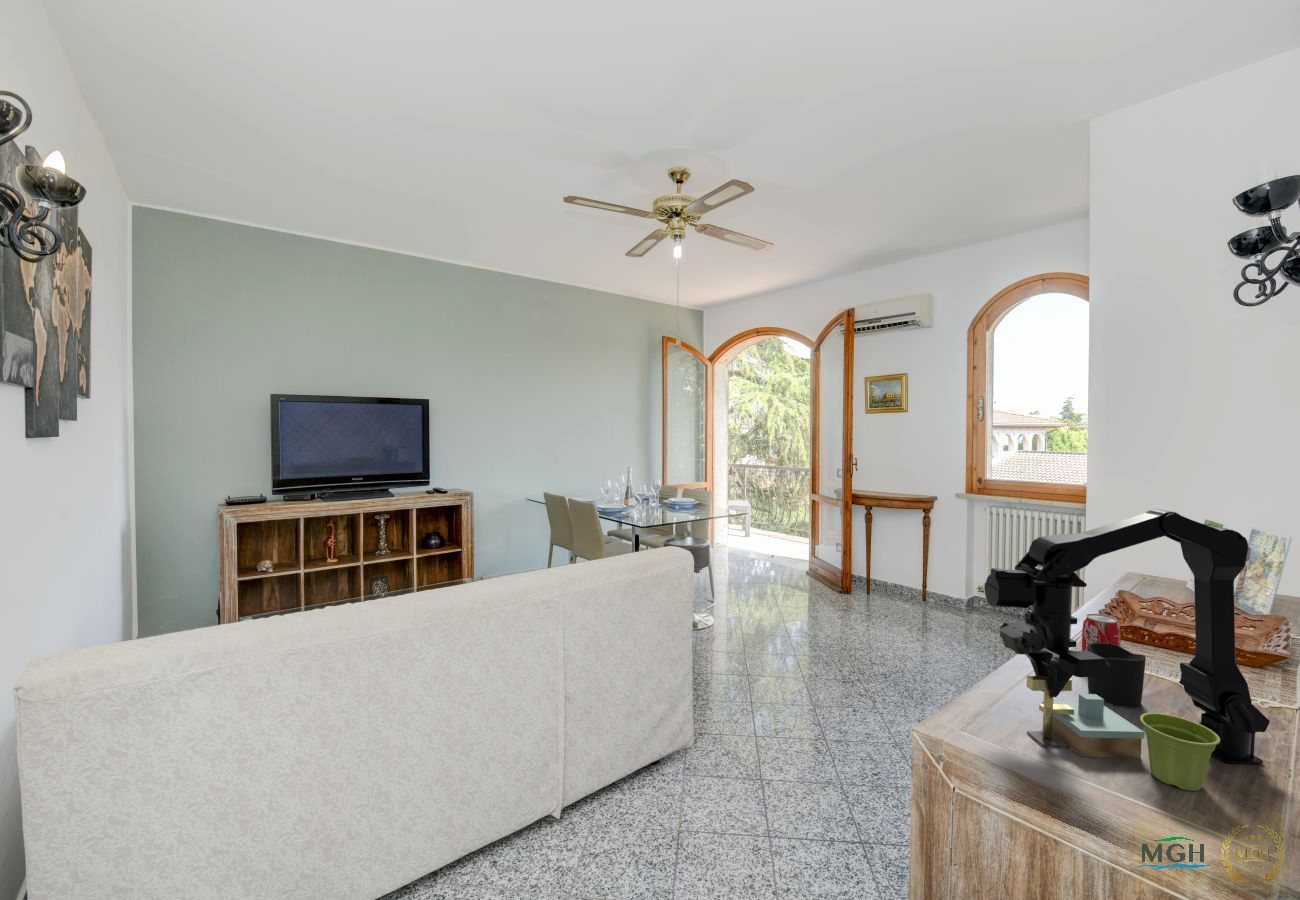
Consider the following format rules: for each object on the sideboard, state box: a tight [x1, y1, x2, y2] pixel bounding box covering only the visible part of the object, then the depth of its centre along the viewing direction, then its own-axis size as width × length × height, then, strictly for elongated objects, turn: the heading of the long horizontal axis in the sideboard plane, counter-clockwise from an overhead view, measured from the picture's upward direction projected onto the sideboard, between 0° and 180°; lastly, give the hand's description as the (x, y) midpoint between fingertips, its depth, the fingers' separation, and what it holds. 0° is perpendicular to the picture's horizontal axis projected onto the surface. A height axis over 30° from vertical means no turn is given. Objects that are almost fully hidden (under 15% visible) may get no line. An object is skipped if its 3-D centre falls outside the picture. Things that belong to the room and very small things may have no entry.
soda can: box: [1081, 613, 1122, 651], centre depth 134 cm, size 7×7×12 cm
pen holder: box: [1087, 643, 1147, 708], centre depth 119 cm, size 9×9×10 cm
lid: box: [1041, 693, 1145, 739], centre depth 103 cm, size 10×10×5 cm
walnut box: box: [1026, 716, 1143, 759], centre depth 103 cm, size 15×10×4 cm
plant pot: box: [1139, 712, 1220, 792], centre depth 92 cm, size 9×9×9 cm
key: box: [1026, 675, 1074, 740], centre depth 103 cm, size 8×2×11 cm, turn 89°
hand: (1048, 694), depth 103 cm, fingers closed on key, 2 cm apart
